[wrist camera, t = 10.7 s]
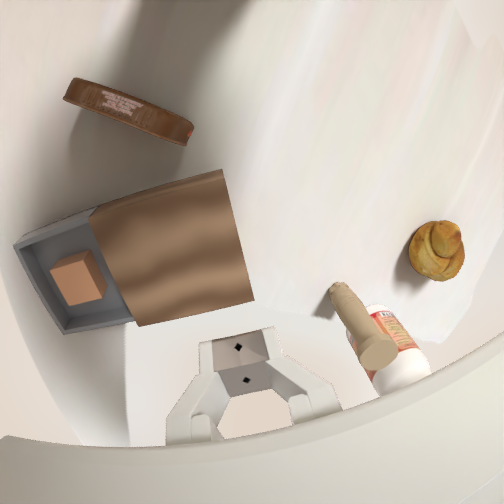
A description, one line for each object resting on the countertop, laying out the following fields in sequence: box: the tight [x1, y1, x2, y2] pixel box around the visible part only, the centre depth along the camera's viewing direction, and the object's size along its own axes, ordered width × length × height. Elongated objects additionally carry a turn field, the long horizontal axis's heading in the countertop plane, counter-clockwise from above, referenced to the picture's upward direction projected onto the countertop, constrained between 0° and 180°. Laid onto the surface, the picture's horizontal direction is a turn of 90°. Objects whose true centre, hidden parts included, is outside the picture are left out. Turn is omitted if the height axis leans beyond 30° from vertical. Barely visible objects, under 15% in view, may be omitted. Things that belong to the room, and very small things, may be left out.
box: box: [13, 206, 135, 335], centre depth 36 cm, size 16×14×4 cm
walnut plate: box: [88, 169, 255, 327], centre depth 36 cm, size 16×16×5 cm
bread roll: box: [409, 220, 465, 282], centre depth 41 cm, size 13×10×8 cm
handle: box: [329, 282, 398, 371], centre depth 39 cm, size 5×6×15 cm
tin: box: [63, 78, 194, 146], centre depth 26 cm, size 15×3×8 cm, turn 61°
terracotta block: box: [50, 250, 108, 306], centre depth 35 cm, size 6×6×3 cm
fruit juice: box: [346, 304, 432, 397], centre depth 38 cm, size 9×9×28 cm
